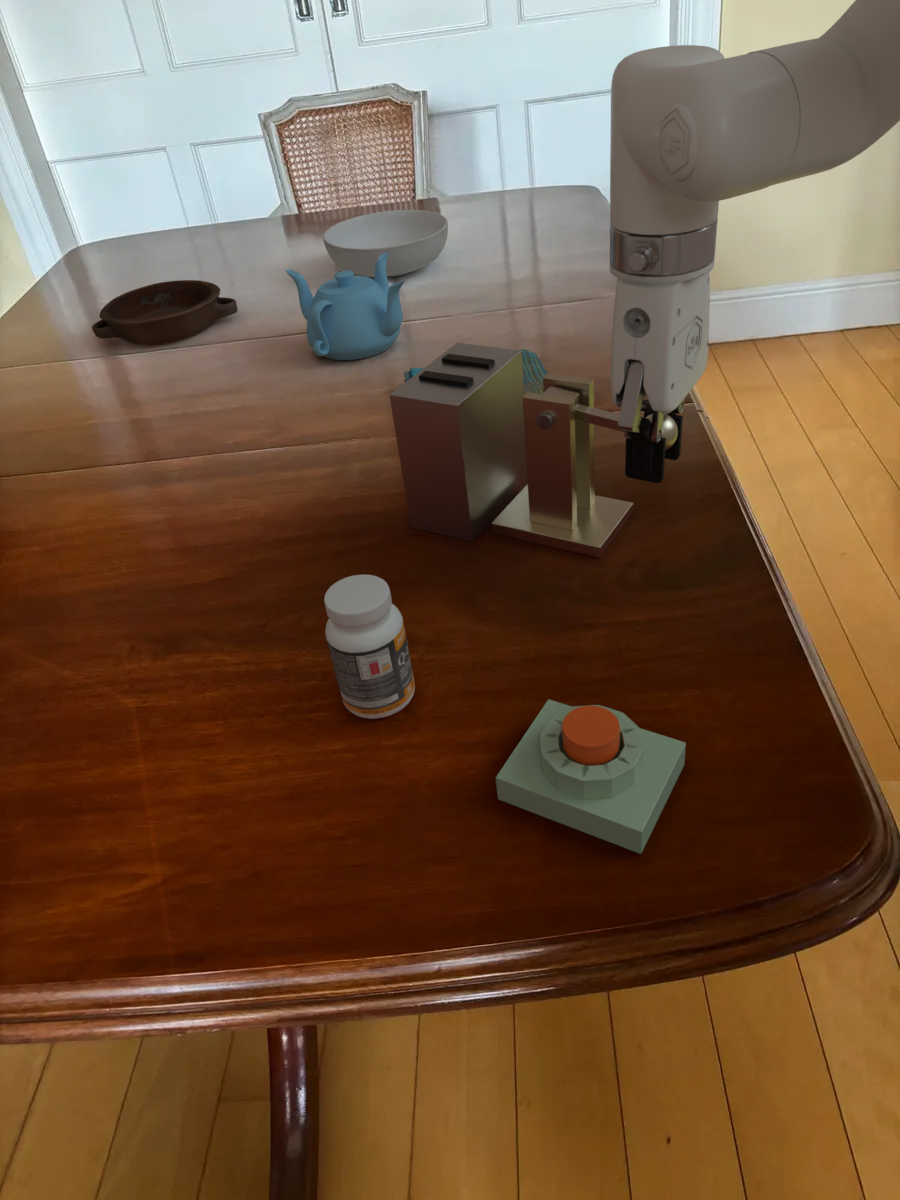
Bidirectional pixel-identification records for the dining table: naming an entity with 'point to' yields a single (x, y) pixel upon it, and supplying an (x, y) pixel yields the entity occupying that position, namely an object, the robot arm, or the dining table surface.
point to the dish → (163, 312)
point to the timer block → (593, 779)
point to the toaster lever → (610, 416)
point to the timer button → (591, 735)
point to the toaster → (461, 439)
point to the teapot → (351, 313)
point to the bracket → (561, 477)
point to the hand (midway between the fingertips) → (652, 465)
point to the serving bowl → (387, 241)
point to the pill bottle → (368, 647)
